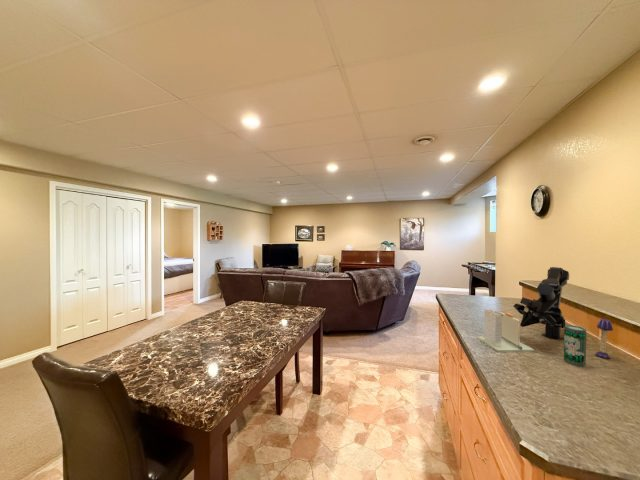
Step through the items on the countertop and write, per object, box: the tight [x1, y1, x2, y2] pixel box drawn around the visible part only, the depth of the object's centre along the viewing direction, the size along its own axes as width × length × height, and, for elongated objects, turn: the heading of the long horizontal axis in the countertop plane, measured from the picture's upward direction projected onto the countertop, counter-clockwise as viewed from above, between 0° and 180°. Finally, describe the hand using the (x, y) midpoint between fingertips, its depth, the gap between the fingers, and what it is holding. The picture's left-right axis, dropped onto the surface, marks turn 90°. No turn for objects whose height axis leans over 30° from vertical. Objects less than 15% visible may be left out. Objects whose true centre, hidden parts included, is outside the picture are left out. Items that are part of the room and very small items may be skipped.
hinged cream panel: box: [499, 311, 521, 347], centre depth 122 cm, size 1×13×14 cm, turn 0°
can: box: [563, 324, 587, 368], centre depth 105 cm, size 6×6×15 cm
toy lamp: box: [595, 318, 614, 360], centre depth 109 cm, size 5×5×17 cm
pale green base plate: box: [476, 335, 535, 353], centre depth 122 cm, size 17×15×2 cm
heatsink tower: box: [483, 309, 503, 347], centre depth 122 cm, size 5×8×15 cm, turn 0°
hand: (521, 326), depth 121 cm, fingers closed
